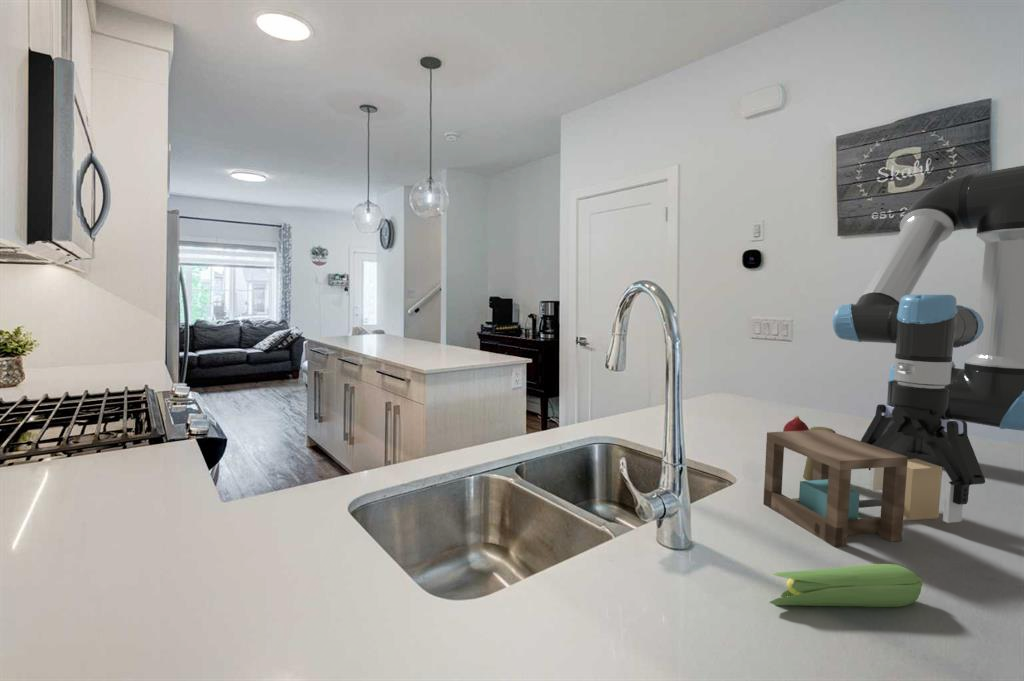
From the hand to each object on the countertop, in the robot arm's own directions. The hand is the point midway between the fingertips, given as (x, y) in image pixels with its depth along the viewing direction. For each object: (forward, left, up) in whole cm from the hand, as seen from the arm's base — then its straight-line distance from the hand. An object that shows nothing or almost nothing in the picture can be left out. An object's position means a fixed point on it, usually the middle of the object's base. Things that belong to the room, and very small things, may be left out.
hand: (911, 504), depth 86 cm
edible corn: (+33, +20, -2) cm, 39 cm away
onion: (-9, -38, -2) cm, 39 cm away
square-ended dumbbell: (+9, 0, -2) cm, 9 cm away
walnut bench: (+17, 0, -2) cm, 17 cm away
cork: (+3, -17, -2) cm, 17 cm away
